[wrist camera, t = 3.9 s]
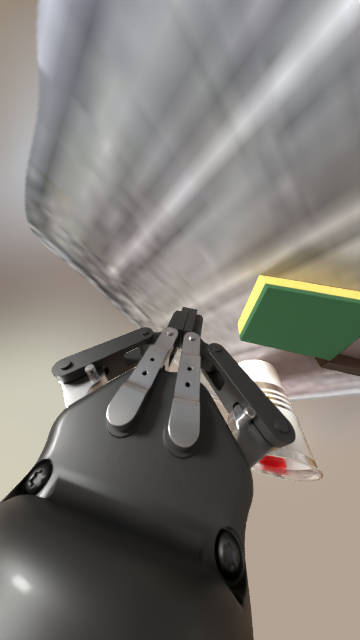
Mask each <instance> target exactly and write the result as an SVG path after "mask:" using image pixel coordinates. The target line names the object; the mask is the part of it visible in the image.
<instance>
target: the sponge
mask: <svg viewBox="0 0 360 640" xmlns="http://www.w3.org/2000/svg"><path fill="white" fill-rule="evenodd" d="M238 329H239V335H240V340H241V341H245V342H250V343H254V344H259V345H263V346H268V347H272V348H276V349H281V350H285V351H290V352H294V353H299V354H303V355H308V356H312V357H317V358H321V359H326V360H332V359H333V358H334V357H336V356H337V355H338V354H339V353H341V352H342V351H343V350H344V349H345V348H347V347H348V346H349V345H350V344H352V343H353V342H354V341H355V340H357V339H358V338H359V337H360V292H359V291H353V290H347V289H341V288H335V287H329V286H323V285H317V284H311V283H305V282H299V281H293V280H287V279H281V278H275V277H269V276H263V275H259V278H258V280H257V282H256V284H255V286H254V289H253V291H252V293H251V295H250V297H249V300H248V302H247V304H246V306H245V309H244V311H243V313H242V315H241V317H240V320H239V322H238Z"/></svg>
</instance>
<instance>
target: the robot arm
mask: <svg viewBox="0 0 360 640" xmlns="http://www.w3.org/2000/svg"><path fill="white" fill-rule="evenodd" d="M196 314H197V310H196V309H190V308H186V307H183V308H182V311H176V312H175V313H174V314H173V316H172V318H171V320H170V322H169V325H168V327H167V328H165V329H164V330H163V331H162V332H155V333H153V331H152V330H151V329H150V328H146V327H145V328H140V329H138V330H135V331H133V332H130V333H128V334H125V335H122V336H120V337H117V338H115V339H112V340H110V341H107V342H104V343H102V344H99V345H97V346H94V347H92V348H89V349H87V350H84V351H81V352H79V353H76V354H74V355H71V356H69V357H66V358H64V359H62V360H60V361H58V362H57V363H56V364H55V365H54V366H53V368H52V373H53V375H54V376H55V377H56V378H57V381H58V382H59V383H60V385H61V386H62V389H63V394H64V400H65V405H66V409H65V410H64V411H63V412H62V413H61V414H60V415H59V416H58V418H57V419H56V421H55V422H54V424H53V426H52V428H51V430H50V433H49V436H48V439H47V442H46V444H45V447H44V449H43V451H42V453H41V455H40V457H39V459H38V461H37V462H36V464H35V465H34V467H33V468H32V469H31V471H30V472H29V473H28V474H27V475H26V476H25V477H24V479H23V480H22V481H21V482H20V483H19V484H18V485H17V486H16V487H15V488H14V489H13V490H12V491H11V492H10V493H9V494H8V495H7V496H6V497H5V498H4V499H3V500H2V501H1V502H0V640H253V627H252V616H251V605H250V596H249V587H248V579H247V570H246V563H245V543H244V542H245V529H246V522H247V516H248V513H249V509H250V506H251V503H252V497H253V479H252V474H251V468H252V467H253V466H254V465H255V464H257V463H258V462H259V461H260V460H261V459H262V458H263V457H265V456H266V455H267V454H269V453H271V452H273V451H275V450H278V449H280V448H282V447H284V446H286V445H289V444H291V443H293V442H294V441H295V438H296V434H295V430H294V428H293V426H292V424H291V423H290V422H289V420H288V419H287V418H286V417H285V416H284V415H283V414H282V412H281V411H280V410H279V409H278V408H277V407H276V406H275V405H274V403H273V402H272V401H271V400H270V399H269V398H268V397H267V396H266V395H265V393H264V392H263V391H262V390H261V389H260V388H259V387H258V386H257V384H256V383H255V382H254V381H253V380H252V379H251V378H250V377H249V375H248V374H247V373H246V372H245V371H244V370H243V369H242V368H241V367H240V365H239V364H238V363H237V362H236V361H235V360H234V359H233V358H232V356H231V355H230V354H229V353H228V352H227V351H226V350H225V349H224V347H223V346H221V345H220V344H217V343H212V344H210V345H208V344H206V343H205V342H203V341H202V339H201V337H200V336H201V329H202V323H203V318H202V316H201V315H196ZM181 344H182V345H181ZM137 347H138V348H137ZM135 348H137V349H135ZM178 348H179V349H180V348H181V349H182V352H181V357H180V362H179V368H178V372H169V370H170V367H171V365H172V362H173V360H174V358H175V355H176V352H177V349H178ZM133 349H135V350H133ZM131 350H133V351H131ZM129 351H130V352H129ZM127 352H128V353H127ZM134 367H136V368H134ZM132 368H133V369H132ZM130 369H131V370H130ZM200 369H201V370H202V372H203V374H204V376H205V377H206V379H207V380H208V382H209V383H210V385H211V386H212V388H213V390H214V391H215V393H216V394H217V396H218V397H219V399H220V401H221V402H222V404H223V405H224V407H225V408H226V410H227V411H228V413H229V416H228V424H229V427H230V428H229V427H228V425H227V423H226V422H225V420H224V418H223V416H222V414H221V413H220V411H219V409H218V407H217V406H216V404H215V402H214V400H213V398H212V397H211V395H210V393H209V391H208V390H207V389H206V387H205V386H204V385H203V384H201V383H200ZM128 370H129V371H128ZM125 372H126V373H125ZM123 373H124V374H123ZM121 374H122V375H121ZM119 375H120V376H119ZM117 376H119V377H117ZM115 377H117V378H116V379H114V378H115ZM112 379H114V380H112ZM110 380H112V381H110ZM108 381H110V382H108ZM107 382H108V383H107ZM230 429H231V430H230ZM231 431H232V432H231Z"/></svg>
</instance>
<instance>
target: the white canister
mask: <svg viewBox="0 0 360 640" xmlns="http://www.w3.org/2000/svg"><path fill="white" fill-rule="evenodd" d="M238 364H239V365H240V367H241V368H242V369H243V370H244V371H245V372H246V373H247V374H248V375H249V377H250V378H251V379H252V380H253V381H254V382H255V383H256V384H257V386H258V387H259V388H260V389H261V390H262V391H263V392H264V393H265V395H266V396H267V397H268V398H269V399H270V400H271V401H272V402H273V403H274V405H275V406H276V407H277V408H278V409H279V410H280V411H281V412H282V414H283V415H284V416H285V417H286V418H287V419H288V420H289V422H290V423H291V424H292V426H293V428H294V430H295V434H296V438H295V441H294V442H293V443H291V444H289V445H286V446H284V447H282V448H280V449H278V450H275V451H273V452H271V453H269V454H267V455H266V456H265V457H263V458H262V459H261V460H260V461H259V462H258V463H257V464H255V465H254V466H253V467H252V468H251V470H253V471H256V472H258V473H262V474H265V475H269V476H273V477H278V478H283V479H289V480H298V481H315V480H319V479H322V477H323V473H322V472H321V471H320V470H319V469H318V467H317V465H316V463H315V460H314V458H313V456H312V453H311V451H310V448H309V446H308V444H307V441H306V439H305V437H304V434H303V432H302V429H301V427H300V424H299V421H298V419H297V417H296V415H295V412H294V410H293V407H292V405H291V403H290V400H289V398H288V396H287V394H286V391H285V389H284V387H283V385H282V382H281V380H280V378H279V375H278V373H277V371H276V369H275V367H274V366H273V365H272V364H270V363H268V362H265V361H262V360H246V361H242V362H240V363H238Z"/></svg>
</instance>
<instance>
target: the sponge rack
mask: <svg viewBox="0 0 360 640" xmlns="http://www.w3.org/2000/svg"><path fill="white" fill-rule="evenodd" d="M315 358H316V360H317V362H318V363H319V365H320V366H321V367H322V368H326V369H331V370H335V371H339V372H344V373H348V374H352V375H357V376H360V359H357V358H353V357H348V356H343V355H339V354H338V355H337V356H336V357H334V358H333V359H332V360H326V359H321V358H317V357H315Z"/></svg>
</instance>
